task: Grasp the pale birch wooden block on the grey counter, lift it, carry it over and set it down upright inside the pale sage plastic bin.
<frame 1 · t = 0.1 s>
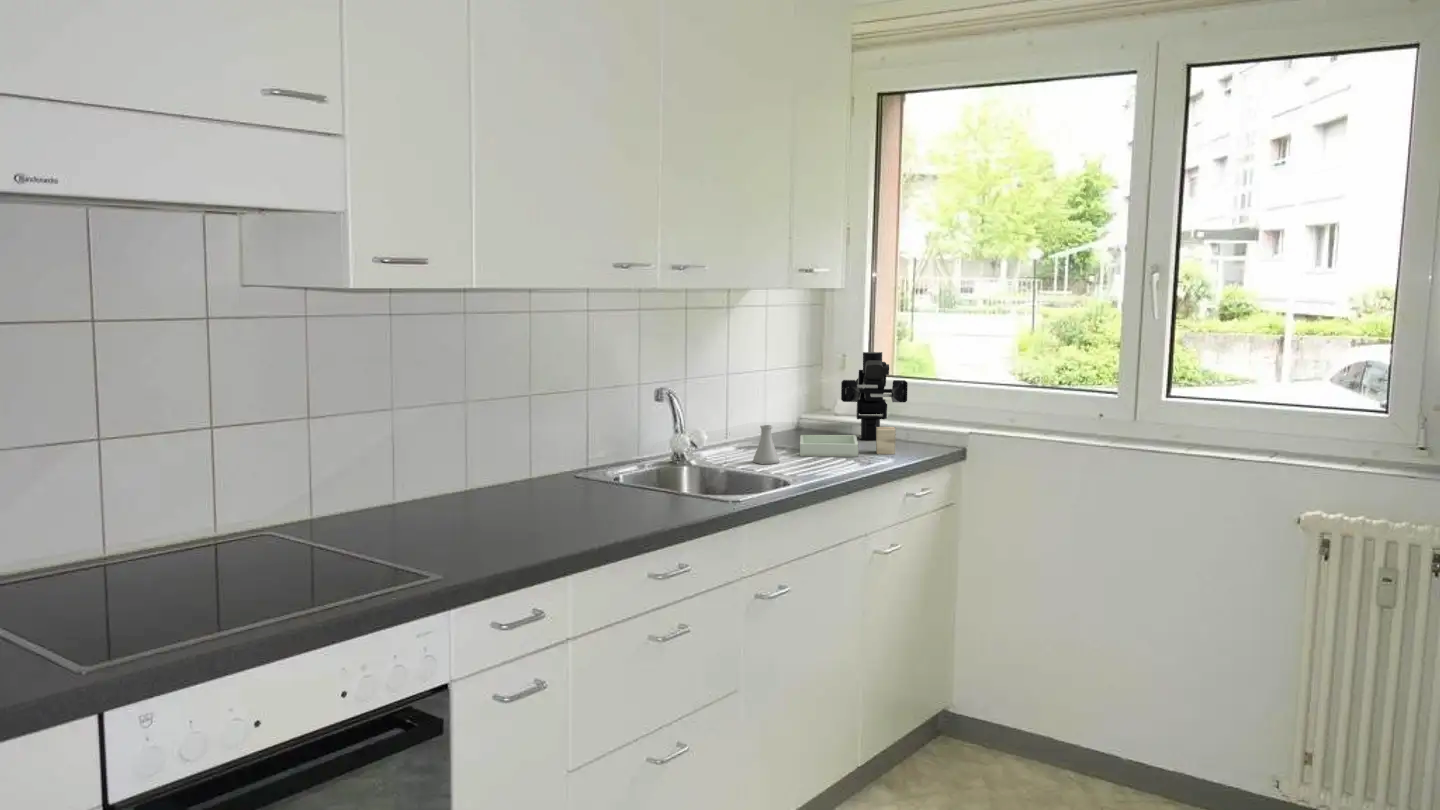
hand: (875, 394, 313), 17 cm above the table, tool horizontal, fingers open, 9 cm apart
birch block: (885, 452, 317), on the table
sage bin: (828, 451, 319), on the table
flask: (766, 463, 303), on the table
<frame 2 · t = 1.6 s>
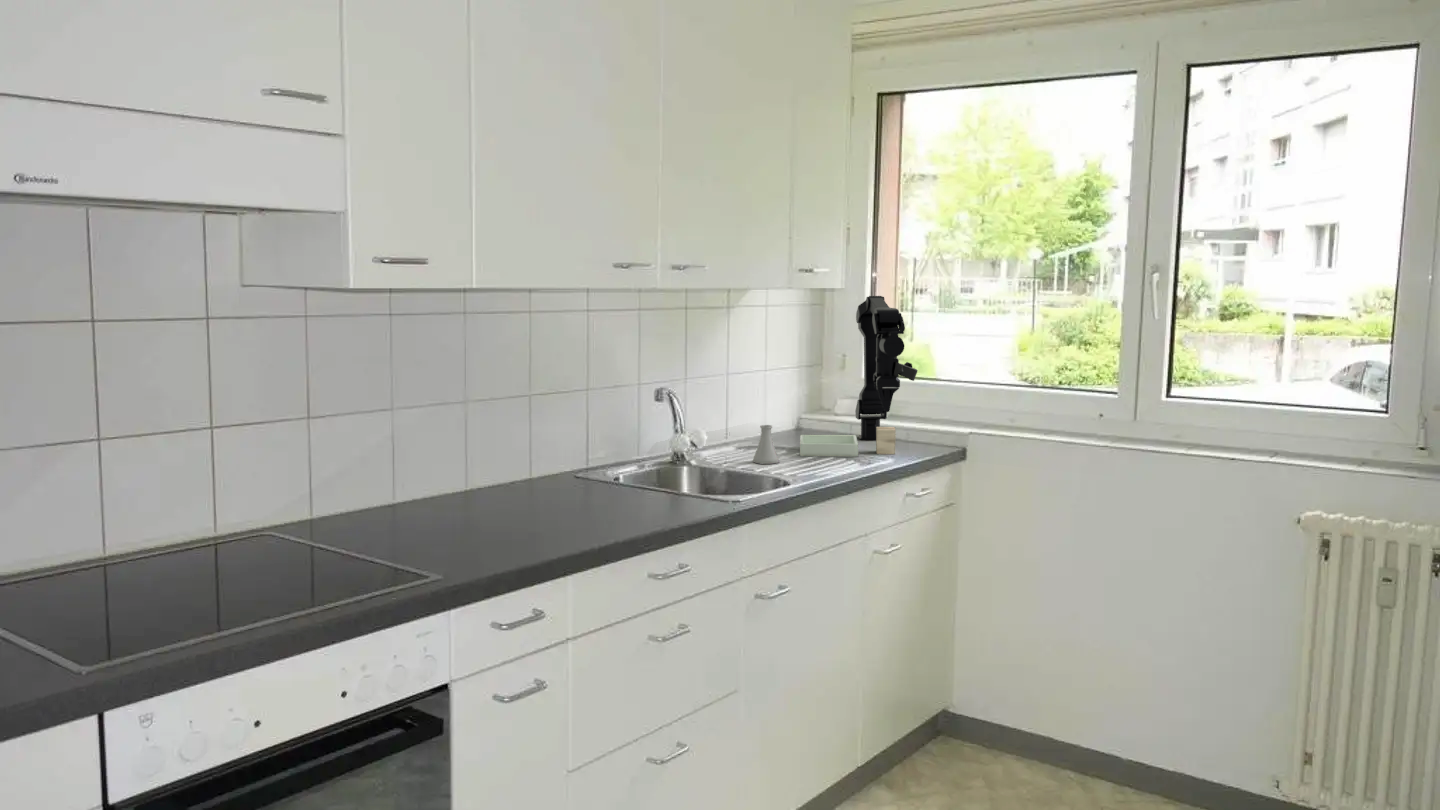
hand: (886, 409, 315), 12 cm above the table, tool pointing down, fingers open, 9 cm apart
nothing on the table moved.
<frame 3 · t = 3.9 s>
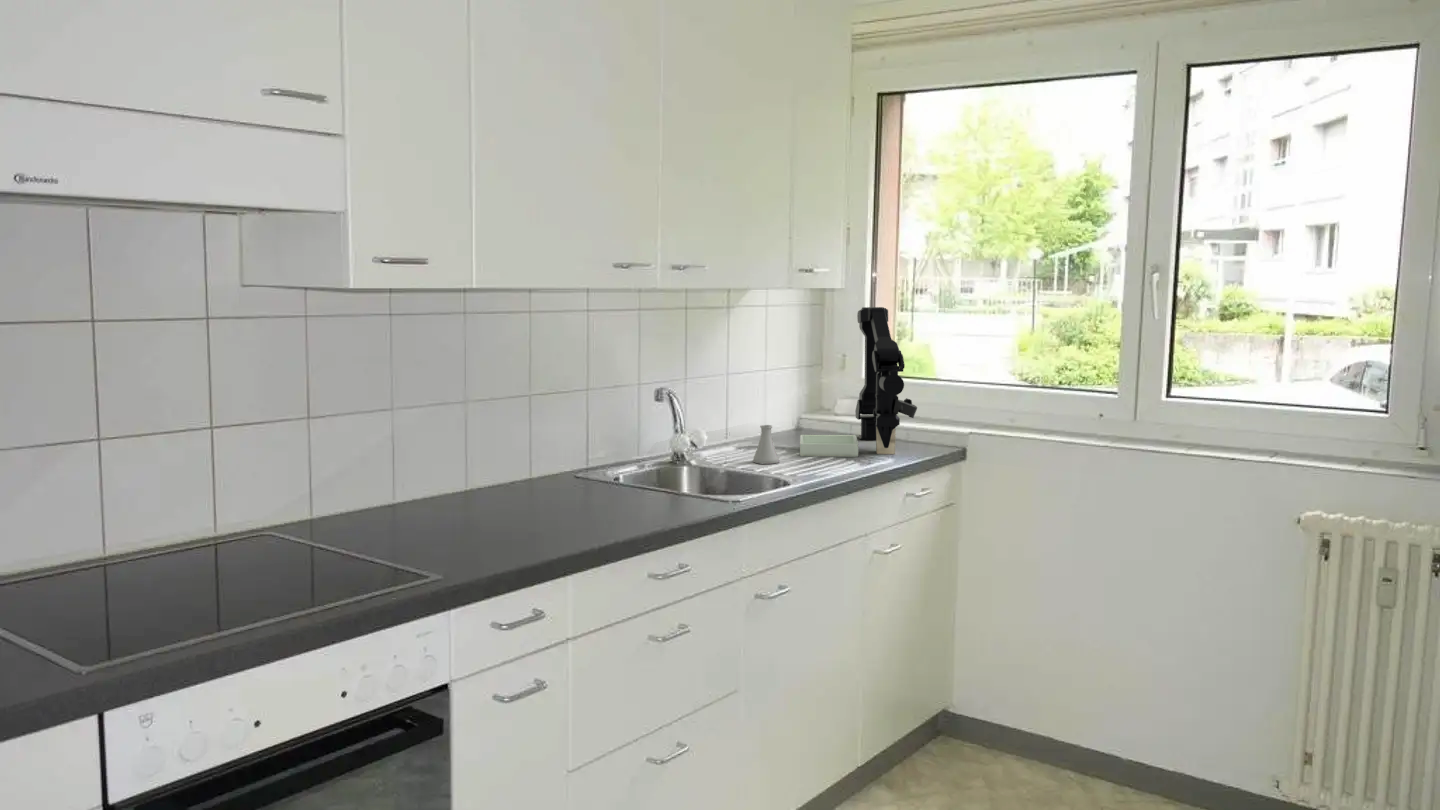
hand: (885, 446, 316), 2 cm above the table, tool pointing down, fingers closed on birch block, 5 cm apart
birch block: (885, 452, 317), on the table, touching gripper
everything else where it was.
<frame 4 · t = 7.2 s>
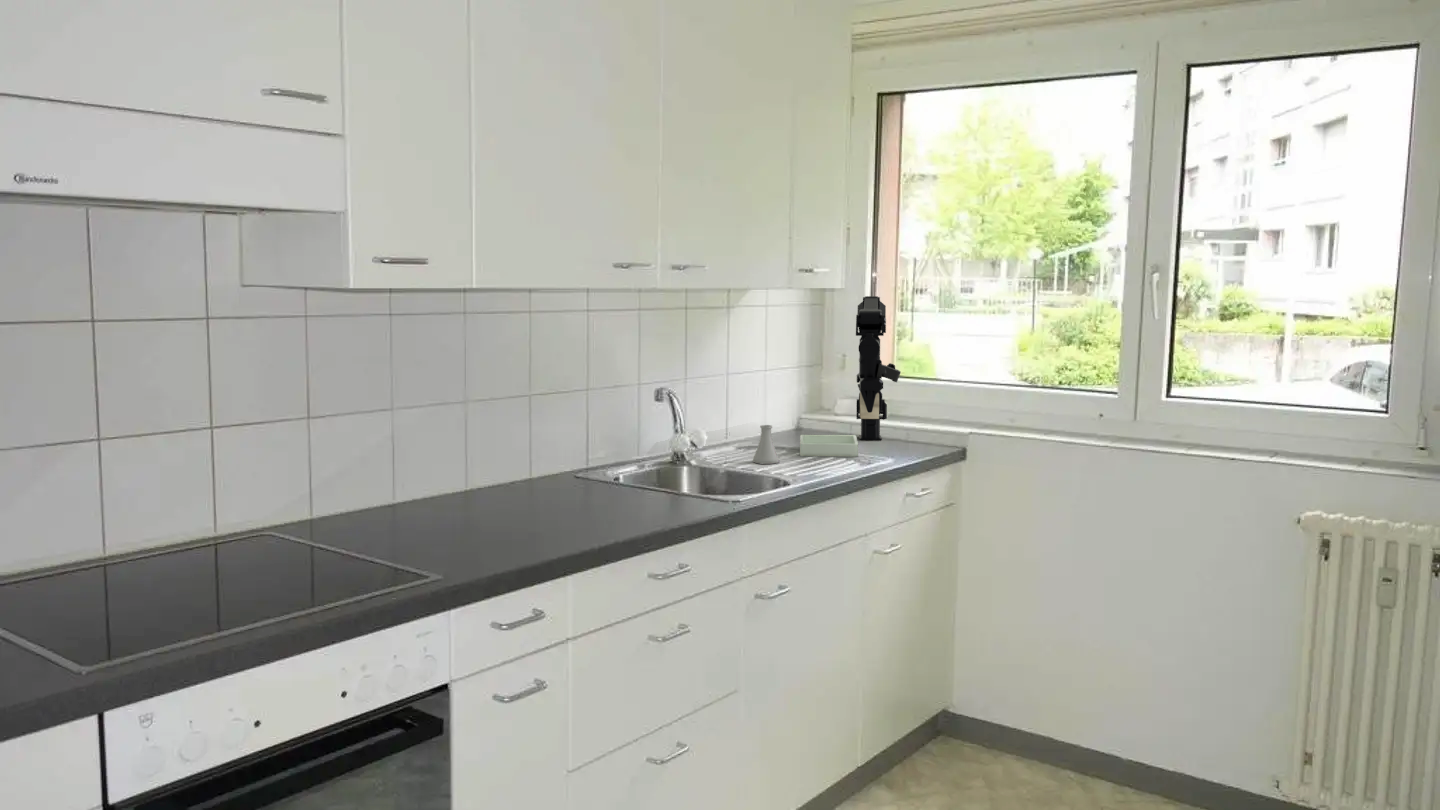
hand: (869, 411, 316), 12 cm above the table, tool pointing down, fingers closed on birch block, 5 cm apart
birch block: (869, 417, 316), point 10 cm above the table, touching gripper
everything else where it was.
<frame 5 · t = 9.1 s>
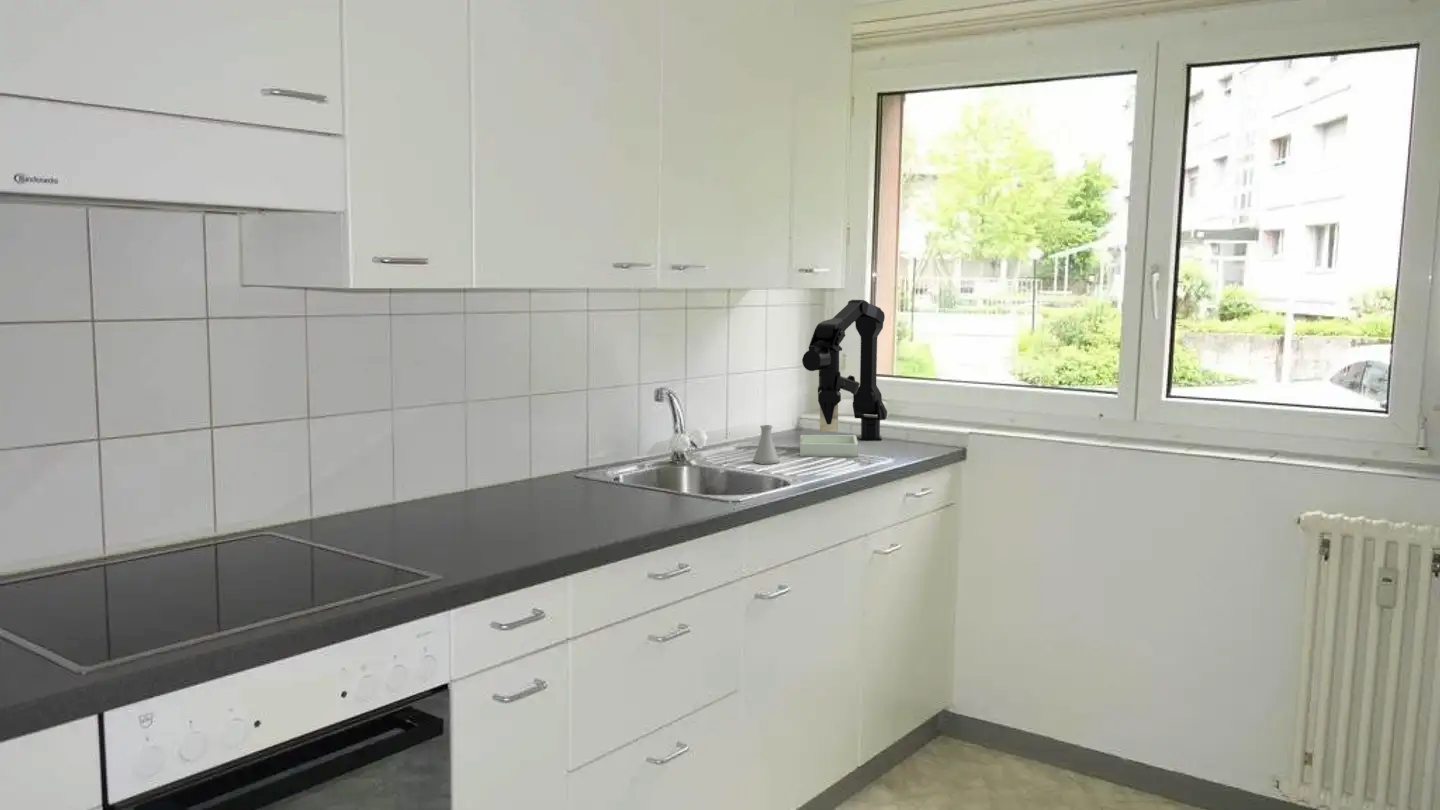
hand: (828, 422, 318), 8 cm above the table, tool pointing down, fingers closed on birch block, 5 cm apart
birch block: (828, 429, 318), point 6 cm above the table, touching gripper
everything else where it was.
when the fingers open (4 cm above the table, at t = 10.7 s): birch block drops 2 cm, resting on sage bin.
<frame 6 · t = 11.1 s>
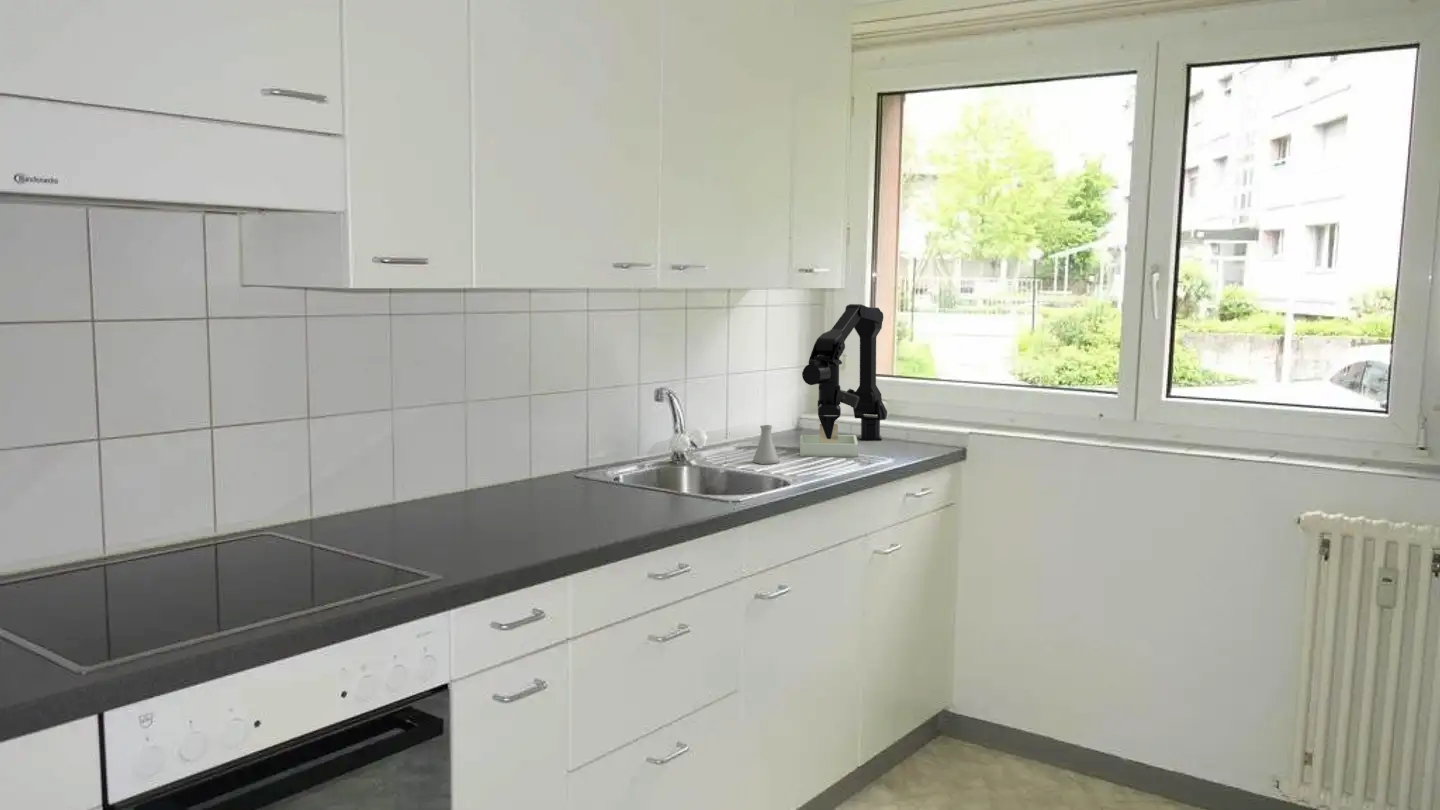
hand: (828, 436, 318), 4 cm above the table, tool pointing down, fingers open, 9 cm apart
birch block: (828, 449, 319), point 1 cm above the table, touching sage bin
everything else where it was.
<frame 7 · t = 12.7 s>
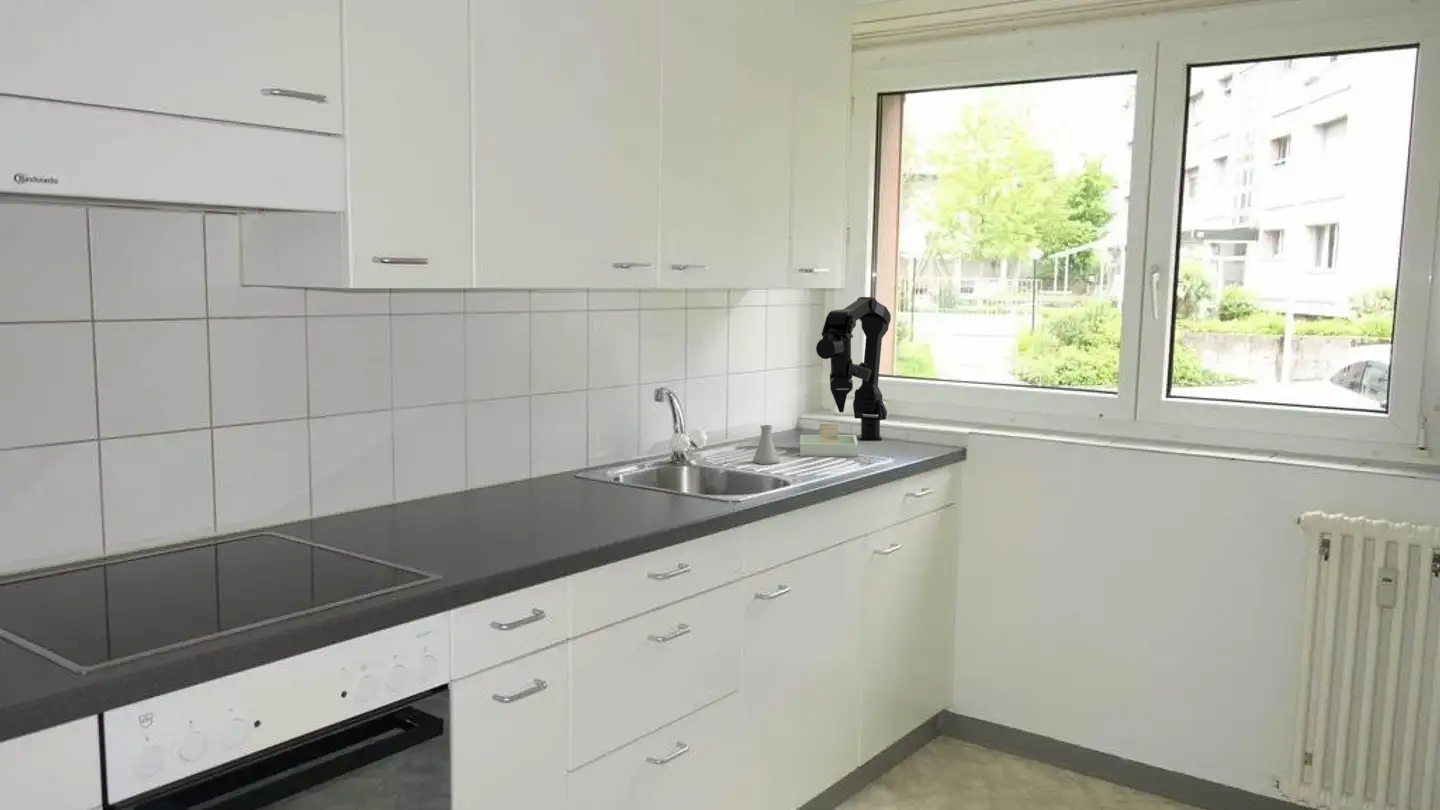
hand: (841, 409, 321), 11 cm above the table, tool pointing down, fingers open, 9 cm apart
nothing on the table moved.
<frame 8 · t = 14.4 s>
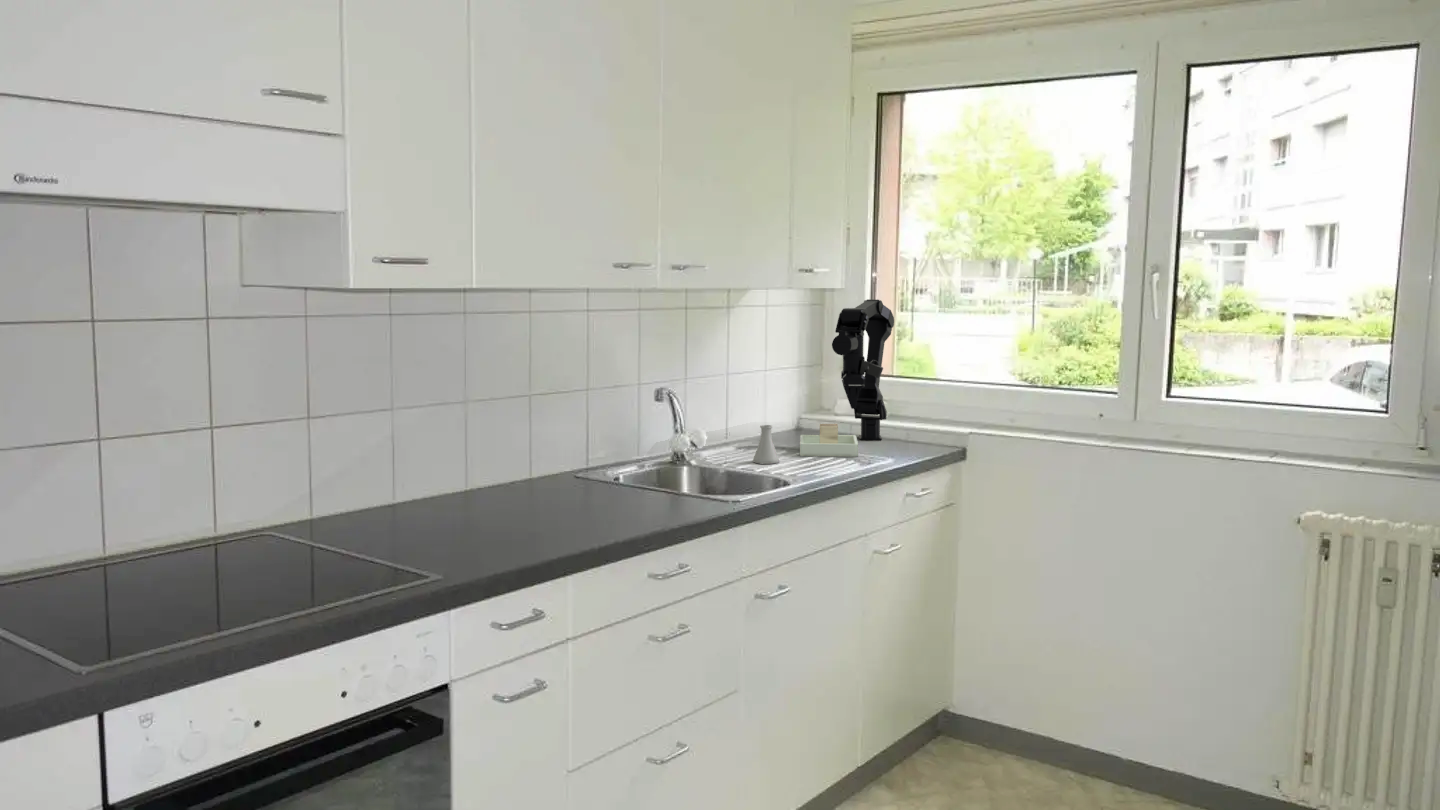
hand: (852, 406, 324), 12 cm above the table, tool pointing down, fingers open, 9 cm apart
nothing on the table moved.
at the end: birch block inside the target area on the sage bin (0.1 cm from its centre), point 0.6 cm above the sage bin's base; birch block tilted 0°; the gripper is holding nothing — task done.
